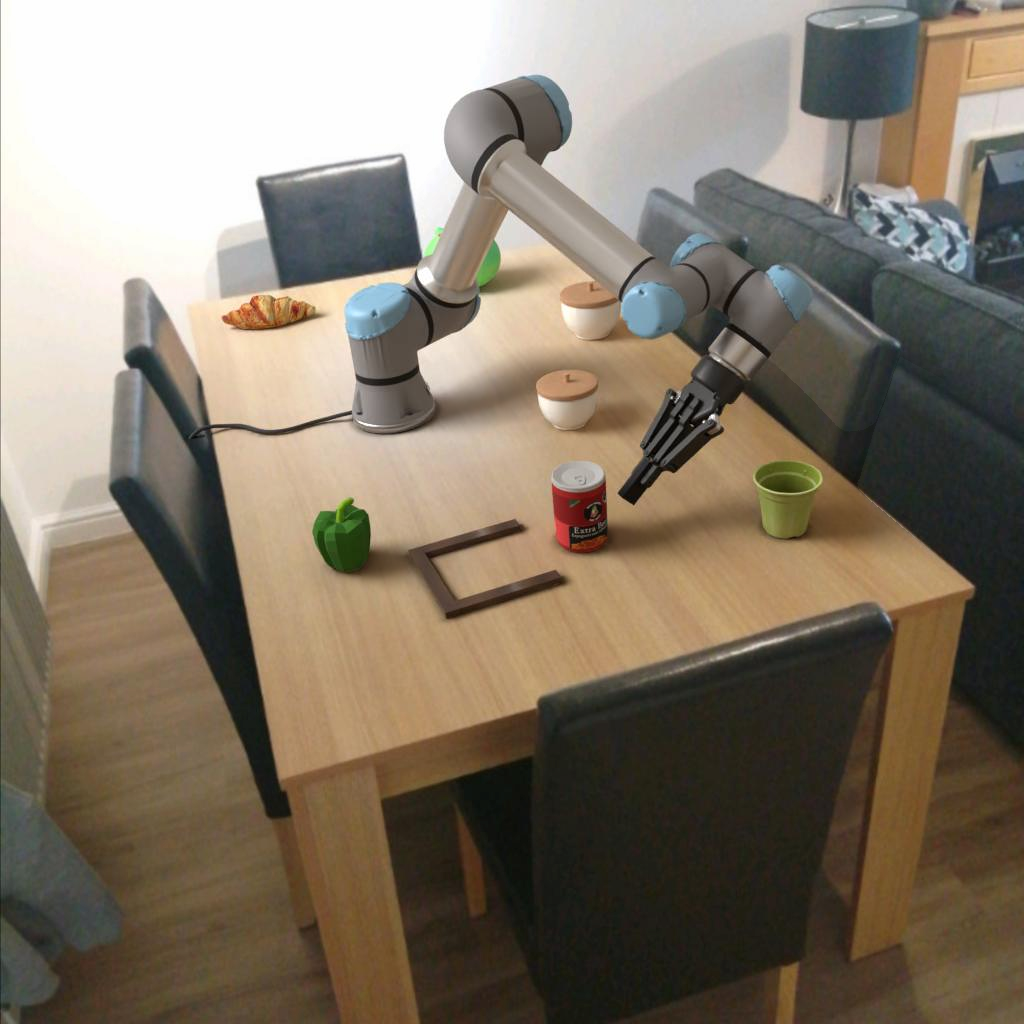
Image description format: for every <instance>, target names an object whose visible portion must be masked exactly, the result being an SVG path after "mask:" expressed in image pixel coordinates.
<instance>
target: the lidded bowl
mask: <svg viewBox="0 0 1024 1024" xmlns="http://www.w3.org/2000/svg"><path fill="white" fill-rule="evenodd" d="M559 301H560V307H561V314H562V318H563V321H564V323H565V326H566V327H567V329H569V330H570V332H572V333H573V334H575V337H576V338H578V339H580V340H585V341H596V340H601V339H604V338H606V337H608V336H609V335H610V333H611V331H613V330H614V329H615V327H616V326H617V324H618V322H619V320H620V316H621V313H622V310H621V307H622V302H620V301H619V300H618V299H617V298H616V297H614V296H613V295H612V294H611V293H609V292H608V291H607V290H606V289H605V288H603V287H602V286H601V285H600V284H598V283H597V282H596V281H595V280H588V281H582V282H576V283H572V284H570V285H568V286H565V287H564V288H563V289H561V291H560V292H559Z"/></svg>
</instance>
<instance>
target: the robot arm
mask: <svg viewBox="0 0 1024 1024" xmlns="http://www.w3.org/2000/svg"><path fill="white" fill-rule="evenodd" d="M572 114H573V113H572V112H571V109H570V103H569V100H568V98H567V95H566V94H565V92H564V91H563V89H562V88H561V87H560V86H559V85H558V83H557V82H555V81H554V80H552V78H550V77H548V76H545V75H542V74H531V75H520V76H517V77H515V78H513V79H510V80H506V81H503V82H501V83H498V84H495V85H492V86H488V87H486V88H485V87H484V88H482V89H477V90H474V91H471V92H469V93H467V94H465V95H464V96H461V98H460V99H458V101H456V103H455V104H454V105H453V106H452V108H451V109H450V110H449V113H448V115H447V117H446V120H445V124H444V129H443V143H444V148H445V149H444V150H445V153H446V155H447V159H448V161H449V164H450V165H451V167H452V168H453V170H454V171H455V173H456V174H457V175H458V176H459V178H460V179H461V180H462V181H463V183H462V185H461V187H460V189H459V192H458V194H457V197H456V199H455V201H454V203H453V206H452V208H451V210H450V213H449V214H448V217H447V219H446V222H445V224H444V226H443V227H442V228H443V231H442V233H441V235H440V237H439V240H438V242H437V244H436V246H435V249H434V251H433V253H432V254H430V255H427V256H425V257H422V258H421V259H420V260H419V262H418V263H417V266H416V269H415V271H414V273H413V275H412V277H411V279H410V280H409V281H408V282H407V283H404V284H401V283H398V282H381V283H378V284H377V285H374V284H373V285H372V284H371V285H369V286H366V287H364V288H362V289H359V290H358V291H357V292H355V293H354V294H352V295H351V296H350V297H349V299H348V300H347V302H345V306H344V319H345V323H344V326H345V327H344V328H345V332H346V334H347V337H348V343H349V348H350V354H351V359H352V366H353V370H354V376H355V387H354V392H353V400H352V405H351V406H352V408H351V410H347V411H343V412H339V413H336V414H332V415H328V416H324V417H321V418H316V419H313V420H309V421H306V422H303V423H300V424H297V425H293V426H290V427H289V426H288V427H285V428H280V429H279V428H277V429H264V428H259V427H256V426H252V425H249V424H244V423H213V424H207V425H203V426H200V427H198V428H196V429H194V431H193V432H192V433H191V434H190V435H189V436H188V440H193V439H194V438H195V437H196V436H197V435H198V434H200V433H202V432H203V431H204V432H205V431H207V430H211V429H212V430H213V429H232V428H233V429H235V428H236V429H244V430H248V431H251V432H254V433H258V434H262V435H275V434H285V433H290V432H293V431H297V430H300V429H303V428H308V427H311V426H314V425H317V424H320V423H325V422H328V421H332V420H335V419H339V418H344V417H347V416H352V421H353V424H354V425H355V427H357V428H358V429H360V430H362V431H364V432H367V433H371V434H372V433H373V434H395V433H402V432H405V431H409V430H414V429H416V428H418V427H420V426H422V425H424V424H427V422H429V421H430V420H431V419H433V417H434V415H435V413H436V402H435V399H434V396H433V394H432V392H431V387H430V385H429V383H428V381H427V380H425V379H424V377H423V375H422V372H421V368H420V362H419V354H418V352H419V351H420V350H422V349H425V348H426V347H428V346H430V345H432V344H434V343H436V342H437V341H440V340H442V339H444V338H445V337H448V336H450V335H452V334H455V333H459V332H460V331H462V330H463V329H465V328H466V327H467V326H468V325H470V324H471V323H472V322H473V321H474V320H475V319H476V317H477V316H478V314H479V312H480V309H481V304H482V298H481V296H479V294H480V293H481V291H480V287H479V286H478V280H477V277H476V275H477V273H478V271H479V269H480V267H481V265H482V263H483V261H484V259H485V257H486V255H487V253H488V251H489V249H490V247H491V245H492V242H493V240H495V238H496V237H497V234H498V233H499V230H500V228H501V226H502V224H503V222H504V220H505V218H506V217H507V214H508V212H510V213H512V214H513V215H514V216H516V217H517V218H518V219H519V220H520V221H522V222H523V223H524V224H525V225H526V226H528V228H530V229H531V230H532V231H534V232H535V233H536V234H538V235H539V236H540V237H541V238H542V239H543V240H544V241H546V242H547V243H548V244H550V245H551V246H552V247H553V248H554V249H556V250H557V251H558V252H560V253H561V255H563V256H564V257H566V258H567V260H569V261H570V262H572V263H573V264H574V265H575V266H576V267H578V268H579V269H580V270H581V271H582V272H584V273H585V275H588V276H589V277H590V278H591V279H592V280H593V281H596V282H597V283H598V284H600V285H601V286H602V287H603V288H605V289H606V290H607V291H608V292H609V293H611V294H612V295H613V296H614V297H616V298H617V299H618V300H619V301H620V302H621V317H622V319H623V321H625V323H626V325H627V329H628V330H629V332H631V333H632V334H633V335H635V336H636V337H638V338H641V339H645V340H656V339H659V338H661V337H664V336H665V335H668V334H670V333H673V332H675V331H677V330H678V329H679V328H680V327H681V326H682V325H683V324H685V323H686V322H688V321H690V320H691V319H692V318H694V317H695V316H698V315H699V314H701V313H703V312H704V311H706V310H708V309H710V308H711V307H714V308H715V309H716V310H718V311H720V312H721V313H723V314H724V315H725V316H727V317H729V318H730V319H729V322H728V323H727V324H726V325H725V327H723V329H722V331H720V333H719V335H718V336H717V337H716V338H715V340H713V341H712V343H711V344H710V346H709V347H708V352H709V354H705V355H702V357H701V358H700V359H699V360H698V362H697V363H696V365H694V367H693V368H692V370H691V371H690V376H691V380H690V381H689V382H688V383H687V384H685V385H684V386H683V387H682V388H681V390H674V389H672V388H668V389H666V392H665V394H664V398H663V401H662V404H661V406H660V407H659V409H658V411H657V412H656V415H655V416H654V418H653V420H652V422H651V424H650V426H649V427H648V429H647V431H646V433H645V434H644V436H643V438H642V440H641V441H640V443H639V448H641V449H642V451H643V453H642V458H641V459H640V460H639V461H638V463H637V464H636V465H635V467H634V468H633V469H632V471H631V473H630V476H629V477H628V478H627V480H626V481H625V482H624V484H623V485H622V487H620V489H619V490H618V492H617V495H618V496H619V497H620V498H621V499H623V500H624V501H626V502H627V503H629V504H630V505H632V506H635V505H636V504H637V502H638V501H639V500H640V498H641V497H642V496H643V494H644V493H645V492H646V491H647V489H650V488H651V487H652V486H653V485H654V483H655V482H656V481H657V480H658V478H659V477H660V476H661V474H663V473H665V472H669V473H671V474H676V473H677V472H678V471H679V470H680V469H681V468H682V467H684V465H685V464H687V463H688V462H689V461H690V460H691V459H692V458H693V457H694V456H695V455H697V453H698V452H699V451H701V450H702V449H703V448H704V447H705V446H706V445H707V444H708V443H709V442H710V441H711V440H713V439H715V438H716V437H718V436H720V435H722V434H723V433H724V432H725V427H724V426H723V425H721V424H720V417H721V415H722V414H723V411H724V408H725V407H726V406H727V405H734V404H735V402H736V401H737V399H738V398H739V397H740V396H741V395H742V393H743V392H744V391H745V389H746V388H747V386H746V385H747V383H746V382H745V381H752V380H753V378H755V376H756V375H757V373H759V371H760V370H761V368H762V367H763V366H764V364H765V363H766V362H767V360H768V359H769V358H770V357H771V355H772V354H773V353H774V352H775V350H777V348H778V347H779V345H780V344H782V342H783V340H784V339H785V338H786V337H787V335H789V333H790V332H791V331H792V330H793V328H794V327H795V326H796V325H797V324H798V323H799V320H800V319H801V317H802V315H803V314H805V311H806V310H807V309H808V307H809V306H810V304H811V302H812V301H813V299H814V292H813V289H812V287H811V286H810V285H809V284H808V283H807V282H806V281H805V280H803V279H802V277H800V276H798V274H796V273H795V272H793V271H791V270H790V269H787V268H786V267H784V266H782V265H780V264H774V265H772V266H771V267H770V268H769V269H768V270H766V271H765V272H764V271H762V270H759V269H757V268H756V267H754V266H753V265H751V264H750V263H749V262H748V261H746V260H744V259H743V258H742V257H740V256H739V255H738V254H736V253H734V252H733V251H732V250H730V249H729V248H728V247H726V246H725V245H724V244H723V243H722V242H719V241H717V240H716V239H715V240H714V239H713V238H711V237H710V236H708V235H706V234H704V233H701V232H697V233H694V234H691V235H690V236H689V237H687V238H686V240H685V241H684V242H681V244H680V245H679V246H678V248H677V249H676V250H675V253H674V254H673V256H672V258H671V261H670V264H669V266H667V265H665V264H664V263H663V262H662V261H661V260H659V259H657V257H655V256H654V255H653V254H651V253H650V252H649V251H647V250H646V249H645V248H644V247H642V246H641V245H640V244H639V243H638V242H637V241H635V240H633V238H631V237H630V236H629V235H628V234H627V233H625V232H624V231H623V230H621V229H620V228H619V227H618V226H616V224H613V222H611V221H610V220H609V219H608V218H607V217H605V216H604V215H603V214H601V213H600V212H599V211H598V210H596V209H595V208H594V207H593V206H592V205H590V204H589V203H588V202H586V201H585V200H584V199H583V198H582V197H580V196H579V195H578V194H577V193H575V192H574V191H573V190H571V188H570V187H568V186H567V185H565V184H564V183H563V182H562V181H560V180H559V179H558V178H556V177H555V176H554V175H553V174H552V173H551V172H549V171H548V170H547V169H546V168H544V167H543V164H544V162H545V160H546V158H547V156H548V155H549V154H550V153H552V152H556V151H558V150H559V149H560V148H561V147H563V146H565V144H566V143H567V142H568V140H569V138H570V136H571V133H572V128H573V115H572Z"/></svg>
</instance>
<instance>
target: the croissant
mask: <svg viewBox="0 0 1024 1024" xmlns="http://www.w3.org/2000/svg"><path fill="white" fill-rule="evenodd" d="M316 311H317V309H316V306H315V305H311V304H309V303H308V302H306V301H304V300H301V301H298V300H295V299H292V297H289V296H287V295H286V296H282V297H276V298H275V296H273V295H270V294H257V295H253V296H252V297H251V298H250V301H249V302H245V303H243V304H241V305H240V307H239V308H238V309H233V310H230V311H229V312H228V313H227V314H224V315H221V321H222V322H223V323H224V324H226V325H229V326H233V327H236V328H238V329H244V330H250V329H251V330H263V329H266V328H267V329H269V328H277V327H281V326H283V325H287V324H288V323H294V322H296V321H300V320H301V319H302V318H304V319H305V318H309V317H311V316H313V315H314V314H315V313H316Z"/></svg>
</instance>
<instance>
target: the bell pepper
mask: <svg viewBox="0 0 1024 1024" xmlns="http://www.w3.org/2000/svg"><path fill="white" fill-rule="evenodd" d="M354 503H355V499H354V498H353V497H351V496H350V497H346V498H345V499H344V500H342V501H341V502H340V503H339V504H338V506H337V508H336V509H335V510H321V511H319V513H318V515H317V516H316V519H315V520H314V522H313V526H312V530H311V533H312V537H313V541H314V544H315V546H316V548H317V550H318V553H319V554H320V556H321V558H322V560H323V562H324V563H325V564H326V565H327V566H328V567H329V568H330V569H336V570H337V571H340V572H342V573H351V572H354V571H357V570H360V569H361V568H362V567H363V566H364V564H365V563H366V561H367V559H368V556H369V555H370V551H371V539H372V538H371V537H372V533H371V532H372V529H371V521H370V515H369V513H368V512H367V511H366V509H365V508H359V507H357V506H356V505H353V504H354Z"/></svg>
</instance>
